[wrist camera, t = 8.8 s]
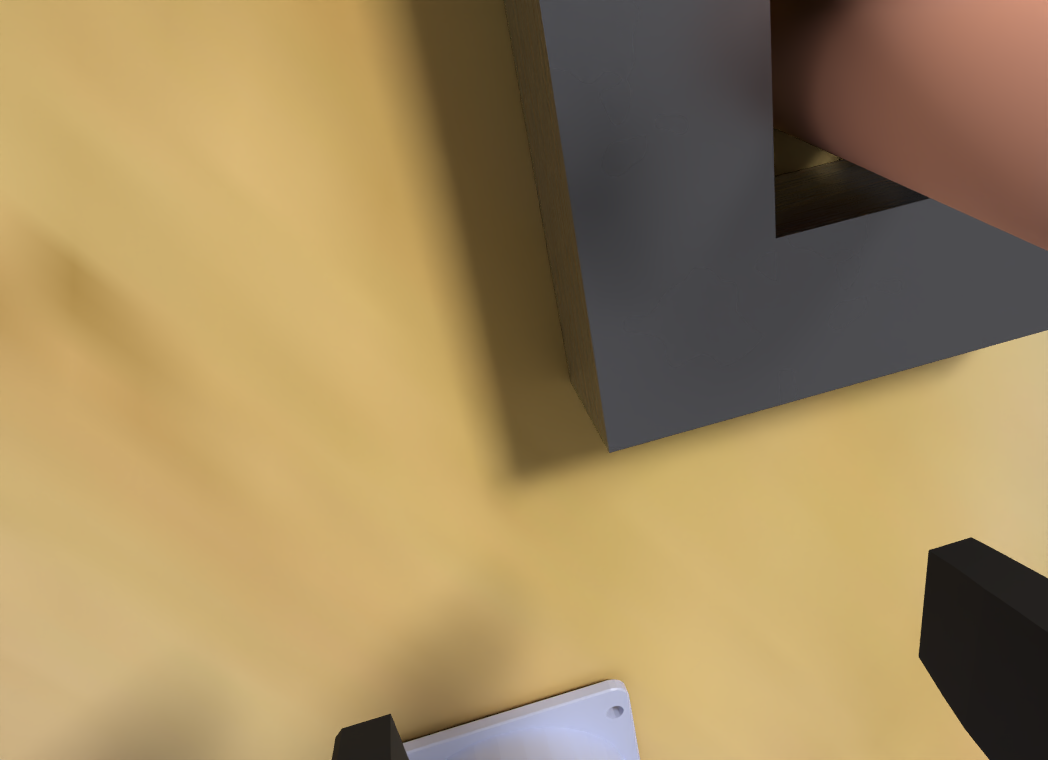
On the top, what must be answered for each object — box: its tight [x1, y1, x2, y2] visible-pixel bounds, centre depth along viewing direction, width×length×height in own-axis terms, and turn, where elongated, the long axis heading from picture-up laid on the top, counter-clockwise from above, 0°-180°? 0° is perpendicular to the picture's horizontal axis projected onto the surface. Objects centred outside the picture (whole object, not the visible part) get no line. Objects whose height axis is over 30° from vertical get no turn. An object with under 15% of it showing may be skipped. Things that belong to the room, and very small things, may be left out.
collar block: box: [504, 0, 1048, 453], centre depth 16 cm, size 12×12×3 cm
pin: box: [770, 0, 1048, 251], centre depth 14 cm, size 3×3×8 cm
